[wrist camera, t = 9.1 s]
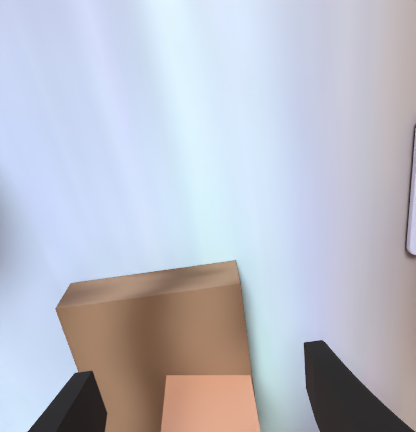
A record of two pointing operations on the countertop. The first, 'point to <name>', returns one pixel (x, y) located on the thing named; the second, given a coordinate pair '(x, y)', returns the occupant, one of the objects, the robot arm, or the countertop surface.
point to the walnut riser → (154, 335)
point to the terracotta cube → (209, 404)
